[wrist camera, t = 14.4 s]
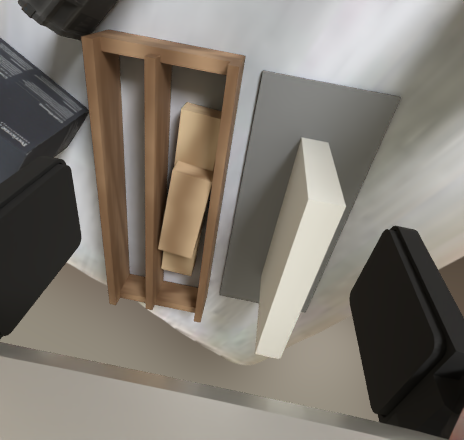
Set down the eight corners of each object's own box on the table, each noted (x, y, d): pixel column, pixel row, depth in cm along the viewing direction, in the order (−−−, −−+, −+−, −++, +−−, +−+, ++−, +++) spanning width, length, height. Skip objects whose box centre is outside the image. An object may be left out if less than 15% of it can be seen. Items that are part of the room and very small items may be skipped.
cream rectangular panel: (328, 142, 37) (345, 206, 26) (281, 279, 49) (280, 359, 39) (301, 137, 37) (308, 199, 26) (261, 275, 50) (255, 353, 39)
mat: (399, 96, 33) (401, 97, 33) (305, 310, 53) (305, 312, 53) (263, 70, 33) (262, 71, 33) (220, 293, 54) (219, 295, 53)
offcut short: (215, 172, 38) (212, 182, 36) (195, 246, 45) (191, 258, 43) (178, 160, 38) (172, 170, 36) (163, 237, 45) (158, 249, 43)
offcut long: (227, 111, 37) (223, 119, 35) (195, 262, 51) (191, 276, 49) (188, 100, 37) (181, 108, 34) (167, 255, 51) (161, 268, 49)
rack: (245, 55, 33) (239, 67, 28) (207, 294, 54) (200, 322, 50) (108, 29, 33) (81, 36, 29) (123, 277, 54) (109, 303, 50)
